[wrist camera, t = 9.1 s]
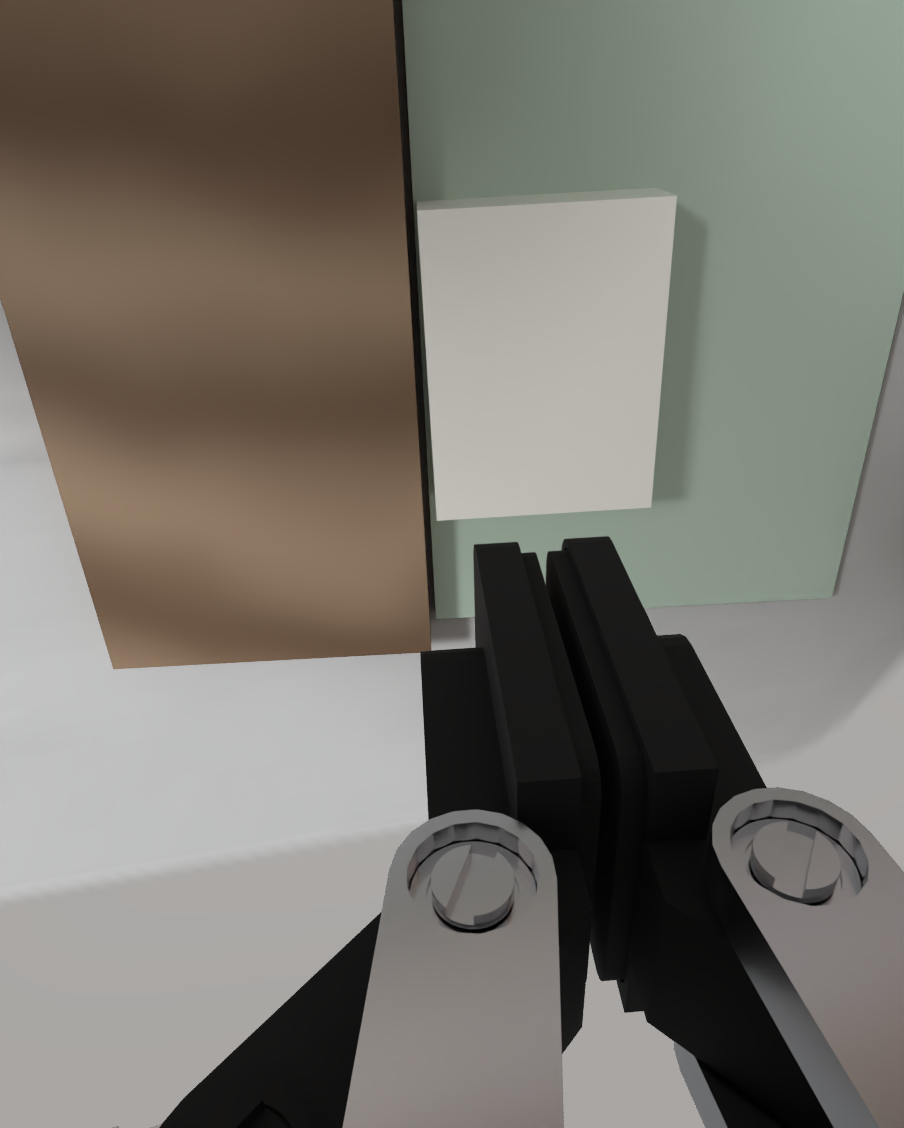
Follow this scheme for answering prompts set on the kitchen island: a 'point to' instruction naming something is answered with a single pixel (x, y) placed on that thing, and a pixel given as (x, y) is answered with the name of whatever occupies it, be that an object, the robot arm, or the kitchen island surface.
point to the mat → (697, 255)
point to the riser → (219, 319)
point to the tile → (545, 348)
